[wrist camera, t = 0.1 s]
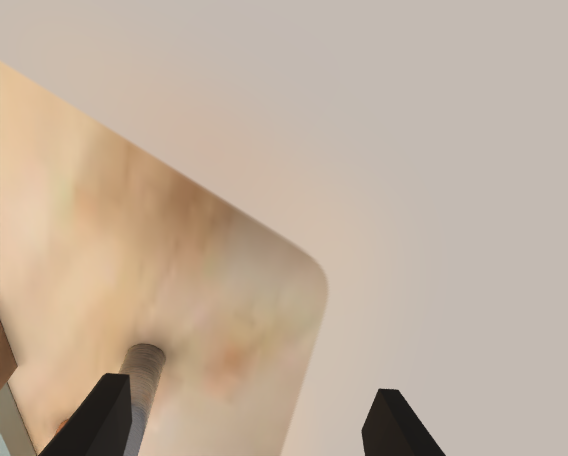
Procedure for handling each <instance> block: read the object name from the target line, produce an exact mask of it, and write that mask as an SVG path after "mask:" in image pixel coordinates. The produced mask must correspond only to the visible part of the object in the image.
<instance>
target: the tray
mask: <svg viewBox="0 0 568 456" xmlns="http://www.w3.org/2000/svg"><path fill="white" fill-rule="evenodd" d="M0 456H36V453H35V451H34V448H33V446H32V443H31V441H30V439H29V436H28V434H27V431H26V429H25V426H24V424H23V421H22V419H21V416H20V414H19V411H18V409H17V406H16V404H15V402H14V399H13V397H12V394H11V392H10V389H9V387H8V384H7V382H6V383H5V385H4V386H3V388H2V389H1V390H0Z"/></svg>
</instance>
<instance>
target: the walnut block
mask: <svg viewBox="0 0 568 456" xmlns="http://www.w3.org/2000/svg"><path fill="white" fill-rule="evenodd" d="M16 368H17V365H16V362H15V359H14V357H13V354H12V351H11V349H10V346H9V343H8V341H7V338H6V335H5V333H4V330H3V327H2V325H1V322H0V390H1V389H2V388H3V386H4V385H5V383H6V382H7V381H8V379H9V378H10V376H11V375H12V374H13V372H14V371H15V370H16Z"/></svg>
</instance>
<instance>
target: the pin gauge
mask: <svg viewBox="0 0 568 456" xmlns="http://www.w3.org/2000/svg"><path fill="white" fill-rule="evenodd" d="M164 362H165V356H164V354H163V352H162V351H161V350H160V349H159V348H157V347H155V346H152V345H148V344H139V345H135V346H133V347H131V348H130V349H129V350H128V352H127V354H126V356H125V359H124V361H123V364H122V366H121V368H120V371H119V373H118V374H129V375H130V390H131V406H132V425H131V429H130V432H129V436H128V440H127V444H126V448H125V451H124V455H123V456H138V452H139V449H140V445H141V442H142V439H143V435H144V432H145V428H146V425H147V421H148V418H149V414H150V411H151V407H152V404H153V400H154V397H155V393H156V390H157V387H158V383H159V380H160V376H161V373H162V369H163V366H164Z"/></svg>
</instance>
